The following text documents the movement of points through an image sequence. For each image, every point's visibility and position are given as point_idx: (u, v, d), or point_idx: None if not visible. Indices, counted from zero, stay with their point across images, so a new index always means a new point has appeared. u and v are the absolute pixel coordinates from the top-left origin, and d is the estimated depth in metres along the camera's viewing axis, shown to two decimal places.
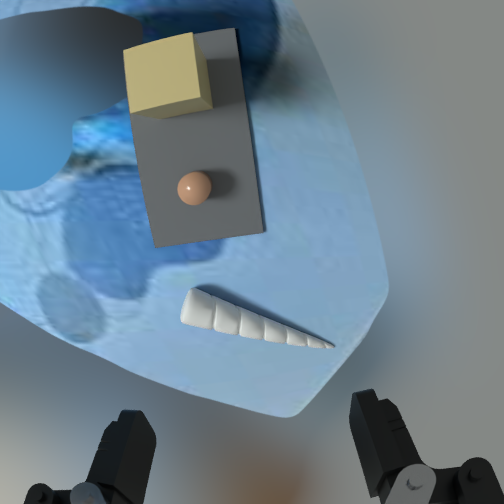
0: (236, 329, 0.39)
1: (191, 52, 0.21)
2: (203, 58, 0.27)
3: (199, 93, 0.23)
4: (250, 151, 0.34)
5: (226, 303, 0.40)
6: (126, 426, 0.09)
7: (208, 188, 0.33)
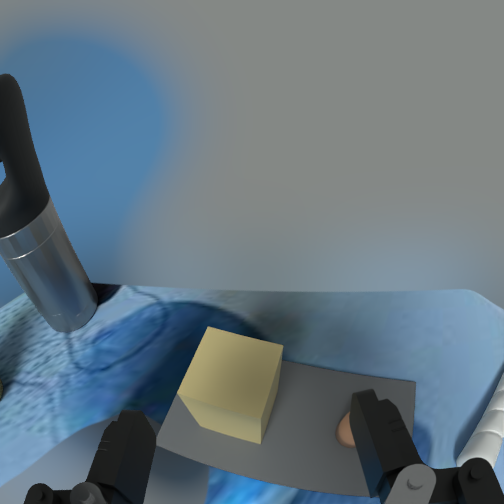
0: None
1: (230, 335, 0.24)
2: None
3: (278, 345, 0.23)
4: (335, 372, 0.31)
5: (478, 425, 0.22)
6: (126, 426, 0.09)
7: None
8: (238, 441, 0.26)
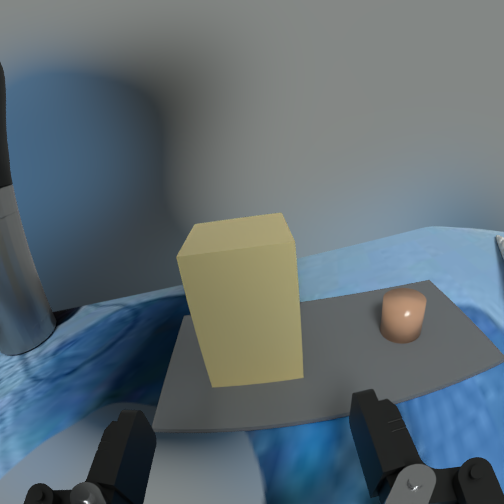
0: None
1: (221, 221, 0.22)
2: None
3: (277, 214, 0.22)
4: (345, 296, 0.29)
5: None
6: (126, 426, 0.09)
7: (398, 288, 0.23)
8: (272, 385, 0.19)
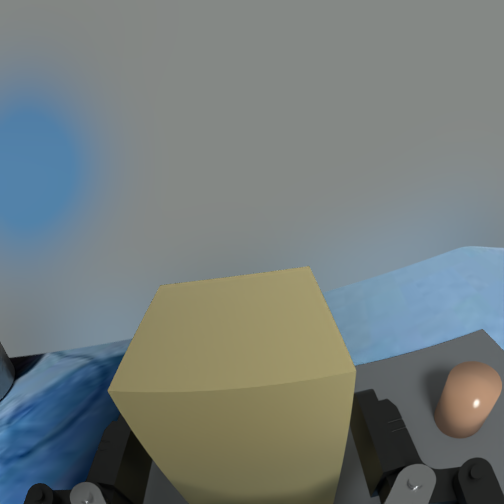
0: None
1: (205, 282, 0.12)
2: None
3: None
4: (383, 361, 0.19)
5: None
6: (126, 426, 0.09)
7: (464, 363, 0.13)
8: None
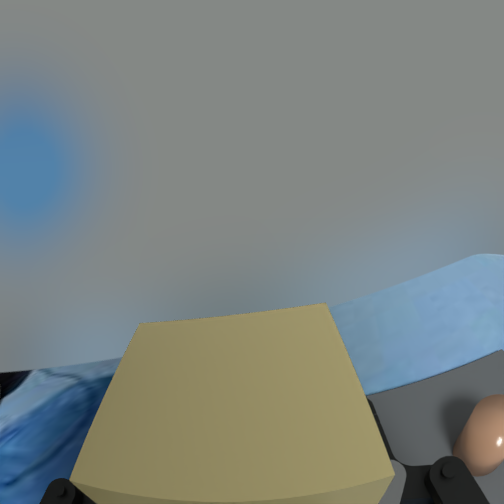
0: None
1: (194, 323, 0.10)
2: None
3: (315, 307, 0.10)
4: (398, 390, 0.16)
5: None
6: None
7: (489, 397, 0.11)
8: None
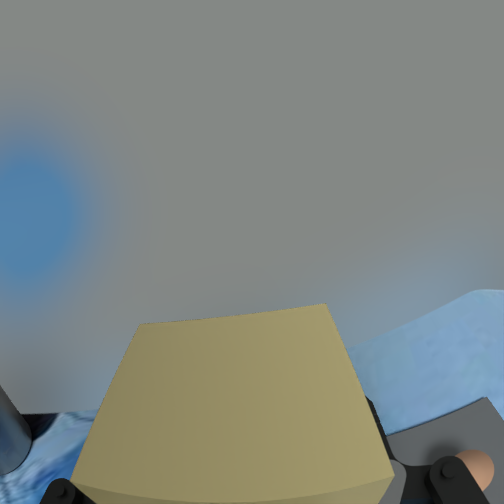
0: None
1: (194, 323, 0.10)
2: None
3: (315, 307, 0.10)
4: (390, 437, 0.18)
5: None
6: None
7: (463, 452, 0.12)
8: None
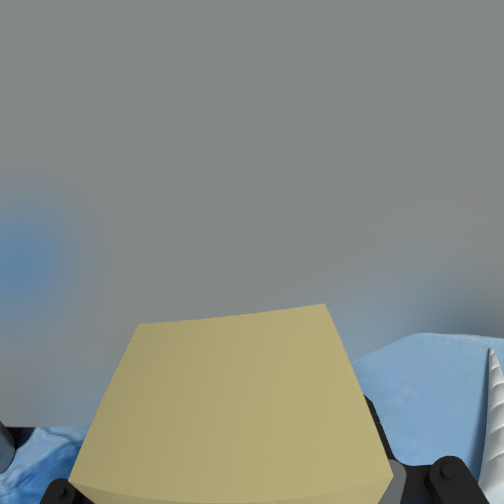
0: None
1: (193, 324, 0.10)
2: None
3: (315, 307, 0.10)
4: None
5: (484, 455, 0.16)
6: None
7: None
8: None
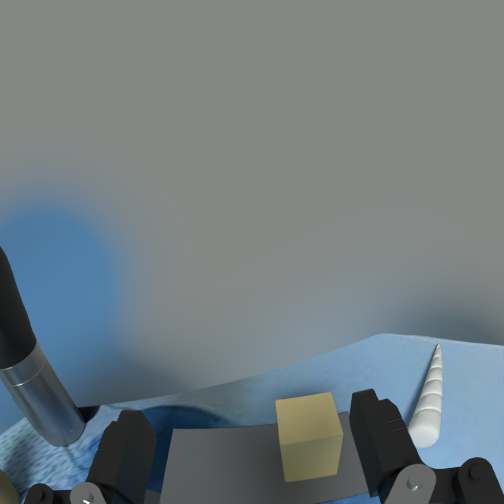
0: (433, 394, 0.34)
1: (293, 399, 0.31)
2: None
3: (328, 392, 0.31)
4: None
5: None
6: (126, 426, 0.09)
7: None
8: (222, 488, 0.29)
